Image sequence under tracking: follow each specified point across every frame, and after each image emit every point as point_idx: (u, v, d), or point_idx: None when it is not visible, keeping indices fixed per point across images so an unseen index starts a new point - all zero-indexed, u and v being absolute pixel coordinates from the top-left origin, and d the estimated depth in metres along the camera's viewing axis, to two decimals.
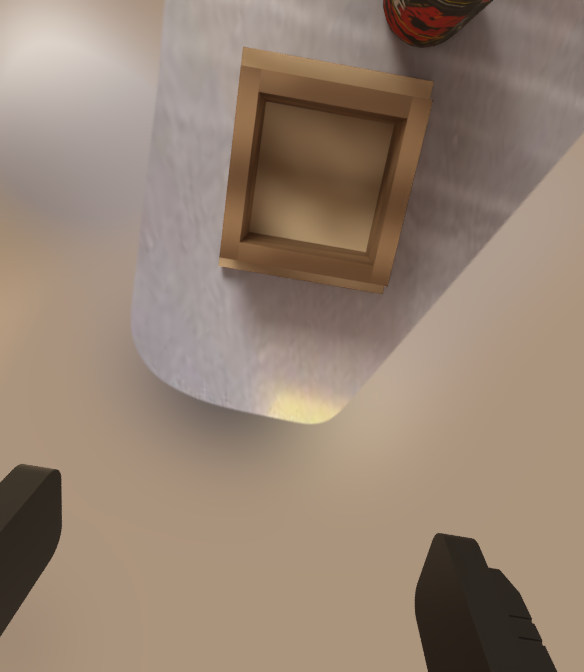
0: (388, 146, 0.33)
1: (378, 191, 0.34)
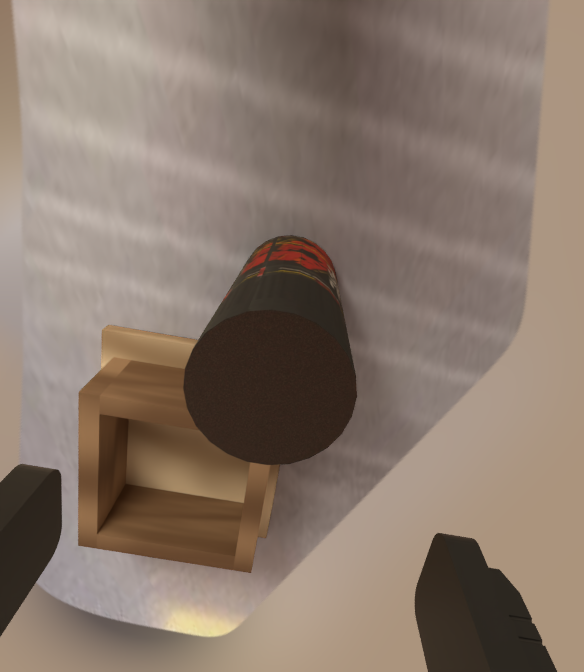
0: None
1: None
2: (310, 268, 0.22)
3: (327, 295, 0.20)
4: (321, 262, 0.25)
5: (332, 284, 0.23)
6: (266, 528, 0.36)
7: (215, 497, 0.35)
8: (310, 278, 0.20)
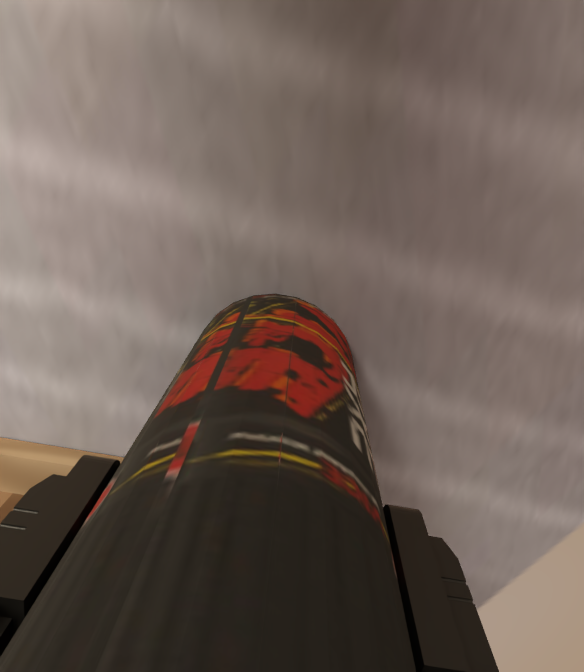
0: None
1: None
2: (308, 411, 0.10)
3: (355, 535, 0.07)
4: (330, 365, 0.13)
5: (356, 434, 0.10)
6: None
7: None
8: (308, 469, 0.08)
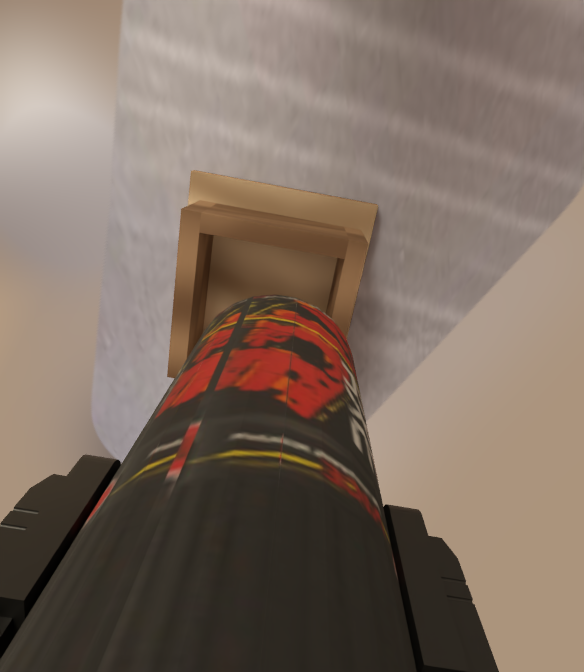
0: (335, 263, 0.34)
1: (326, 303, 0.35)
2: (309, 411, 0.10)
3: (356, 536, 0.07)
4: (331, 366, 0.13)
5: (357, 434, 0.10)
6: None
7: None
8: (309, 470, 0.08)
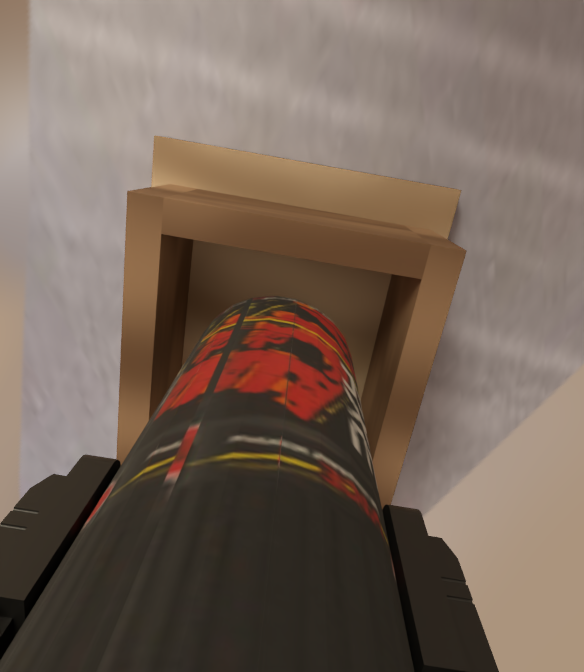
0: (388, 283, 0.21)
1: (372, 346, 0.22)
2: (308, 413, 0.10)
3: (354, 538, 0.07)
4: (330, 367, 0.13)
5: (356, 436, 0.11)
6: None
7: None
8: (307, 472, 0.08)
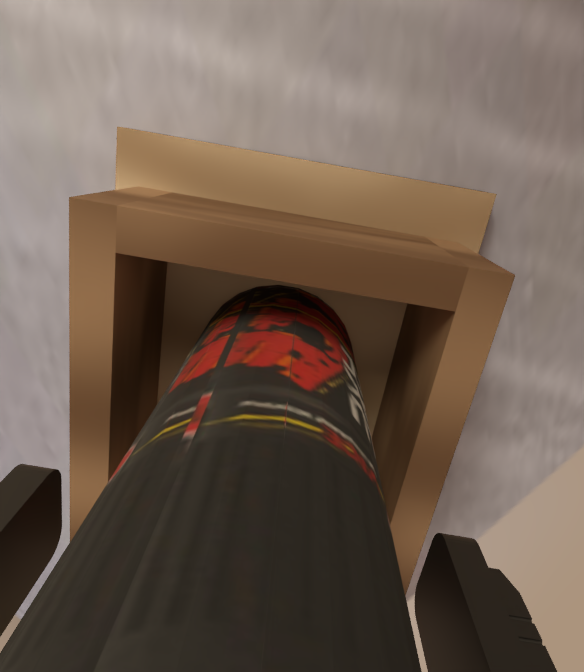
0: (404, 307, 0.18)
1: (385, 380, 0.19)
2: (311, 385, 0.10)
3: (353, 488, 0.08)
4: (331, 348, 0.13)
5: (355, 408, 0.11)
6: None
7: None
8: (311, 433, 0.09)
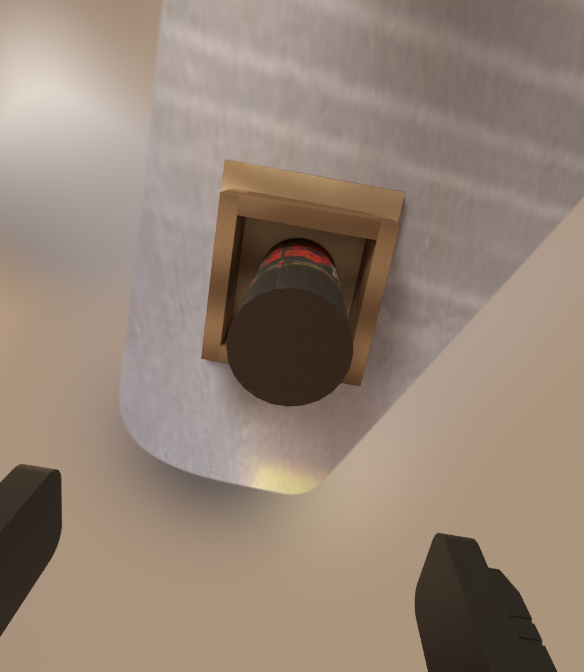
0: (362, 249, 0.35)
1: (354, 288, 0.36)
2: (317, 262, 0.28)
3: (331, 282, 0.25)
4: (325, 258, 0.31)
5: (334, 275, 0.29)
6: None
7: None
8: (318, 269, 0.26)
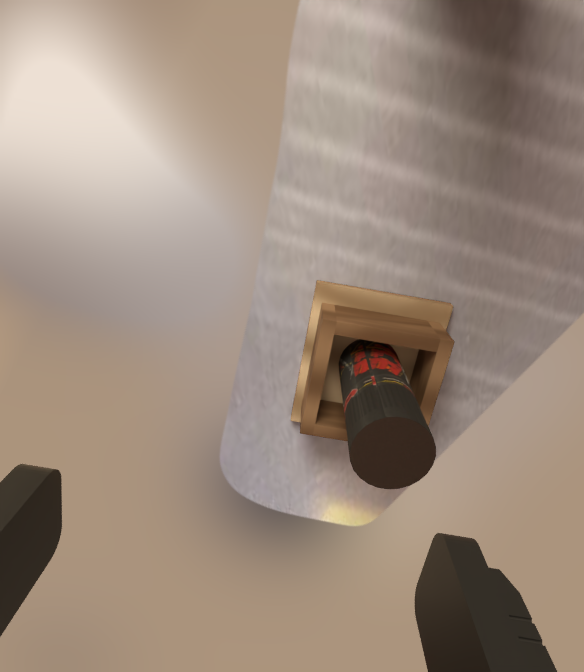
0: None
1: (411, 374, 0.47)
2: (396, 374, 0.39)
3: (412, 396, 0.36)
4: (397, 363, 0.42)
5: (407, 381, 0.40)
6: None
7: None
8: (401, 384, 0.37)
